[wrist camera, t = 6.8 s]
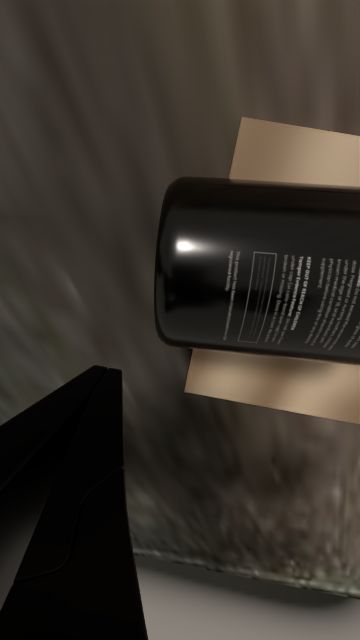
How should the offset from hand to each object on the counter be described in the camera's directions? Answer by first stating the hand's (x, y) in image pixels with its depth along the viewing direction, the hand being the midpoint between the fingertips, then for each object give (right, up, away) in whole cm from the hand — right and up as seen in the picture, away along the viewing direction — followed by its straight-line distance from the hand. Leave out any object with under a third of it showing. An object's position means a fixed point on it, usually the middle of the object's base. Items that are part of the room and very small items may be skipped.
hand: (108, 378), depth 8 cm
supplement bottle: (+1, +4, +3) cm, 6 cm away
